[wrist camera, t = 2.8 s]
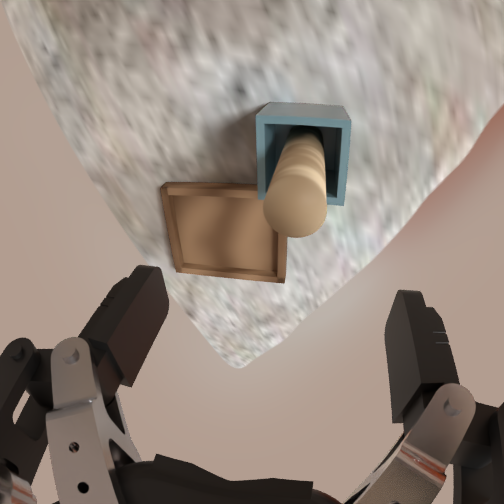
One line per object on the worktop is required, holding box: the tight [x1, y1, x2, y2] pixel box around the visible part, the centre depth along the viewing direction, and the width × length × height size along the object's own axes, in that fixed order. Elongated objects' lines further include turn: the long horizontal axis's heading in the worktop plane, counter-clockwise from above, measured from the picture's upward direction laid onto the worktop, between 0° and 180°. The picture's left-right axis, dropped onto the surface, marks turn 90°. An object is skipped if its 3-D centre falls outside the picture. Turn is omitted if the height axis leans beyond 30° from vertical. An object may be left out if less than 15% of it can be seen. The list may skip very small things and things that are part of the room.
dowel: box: [263, 125, 327, 238], centre depth 21 cm, size 3×3×14 cm
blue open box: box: [256, 102, 351, 206], centre depth 25 cm, size 7×7×7 cm
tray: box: [160, 182, 287, 283], centre depth 34 cm, size 13×11×2 cm
